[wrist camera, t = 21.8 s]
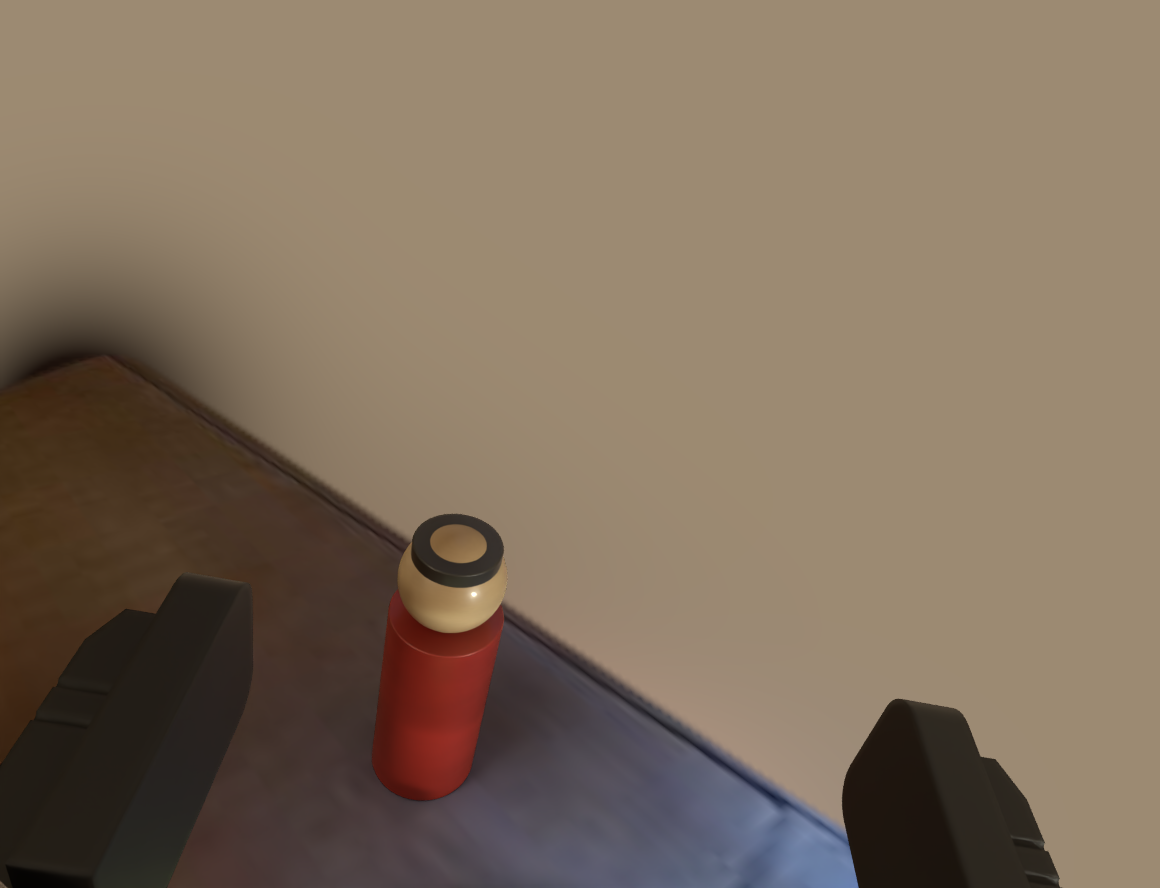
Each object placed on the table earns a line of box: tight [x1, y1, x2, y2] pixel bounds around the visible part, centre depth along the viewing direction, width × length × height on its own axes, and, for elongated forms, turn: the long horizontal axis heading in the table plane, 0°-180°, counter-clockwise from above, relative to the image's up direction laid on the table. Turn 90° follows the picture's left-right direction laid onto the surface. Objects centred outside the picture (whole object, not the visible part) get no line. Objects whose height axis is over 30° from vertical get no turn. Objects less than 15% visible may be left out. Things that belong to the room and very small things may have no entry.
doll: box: [372, 514, 507, 800], centre depth 39 cm, size 5×5×14 cm
